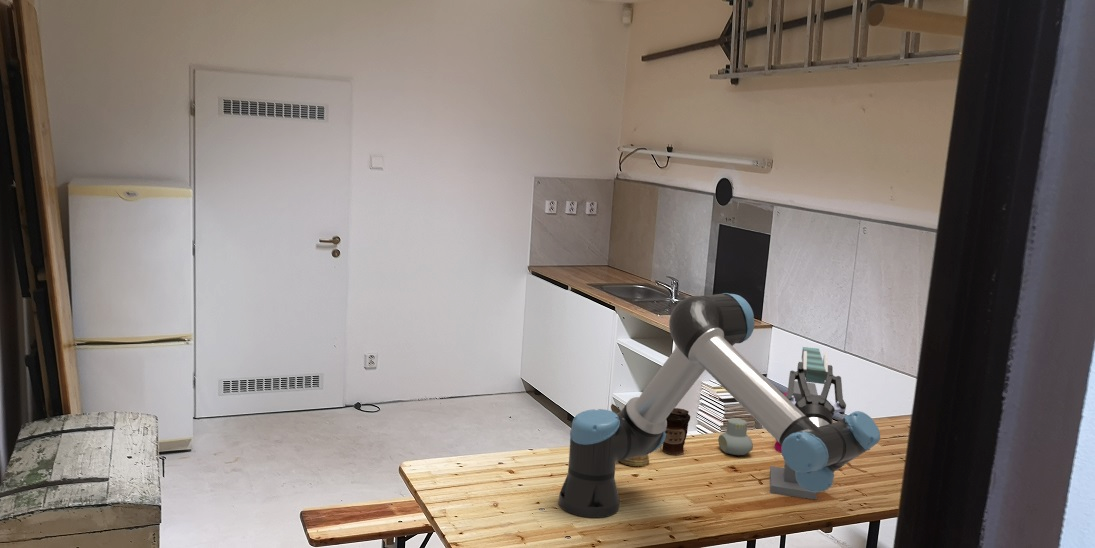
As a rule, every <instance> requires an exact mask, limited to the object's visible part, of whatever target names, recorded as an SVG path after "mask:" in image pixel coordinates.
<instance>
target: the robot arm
mask: <svg viewBox="0 0 1095 548" xmlns="http://www.w3.org/2000/svg"><path fill="white" fill-rule="evenodd" d="M754 318H755V315H754V311H753V308H752V307H751V305H750V304H749V302H748V301H747V300H746V299H745V298H744V297H742V296H741V295H738V294H734V293H728V292H724V293H723V292H722V293H716V294H707V295H693V296H689V297H686V298H684V299H682V300H681V301H679V302H678V303H677V304H676V305H675V306H674V308H673V309H672V311H671V314H670V317H669V321H668V323H669V325H668V326H669V327H668V328H669V333H670V336H671V339H672V340H673V342H674V344H675V346H676V347H675V348H674V350H673V351H672V352H671V354H670V355H669V357H668V358H667V359H666V361H665V362H664V364H662V365H661V367H660V369H659V370H658V371H657V373H655V375H654V377H653V378H652V379H651V380H650V382H649V383H648V384H647V386H646V387H645V389H644V390H643V391H642V393H641V394H640V396H636V397H634V396H633V397H632V398H630V399H629V400H628V401H627V403H626V404H625V405H624V407H623V408H622V409H620V410H621V411H620V412H619V413H617V414H616V413H614V412H612V410H609V409H602V408H601V409H599V408H597V409H589V410H585V411H581V412H579V413H577V414H576V415H575V416H574V418H573V420H572V423H571V429H570V432H569V437H570V439H569V452H568V453H569V454H568V455H569V456H568V467H567V468H568V470H567V474H566V477H565V480H564V482H563V485H562V487H561V489H560V491H559V494H558V495H559V496H558V504H559V507H560V508H561V509H562V510H564V511H565V512H567V513H569V514H572V515H575V516H579V517H584V518H605V517H610V516H612V515H615V514H616V513H617V512H618V511H619V510H620V496H619V491H618V488H617V483H616V478H615V474H616V464H617V462H620V460H624V459H628V458H632V457H636V456H643V455H647V454H648V455H649V454H652V453H653V452H656V451H657V450H659V449H660V448H661V447H662V446H663V442H664V440H665V437H666V434H665V431H666V427H667V420H666V418H667V417H668V416H669V414H670V413H671V412H672V411H673V409H674V408H677V406H678V404H679V403H680V402H681V401H682V399H683V398H684V397H685V395H687V393H688V392H689V391H690V390H691V388H692V387H693V385H694V384H695V383H696V382H697V380H698V379H699V378H700V377H701V376H702V374H703V373H704V372H705V371H706V372H707V373H708V374H710V376H711V377H713V379H714V380H715V381H716V382H717V383H718V384H719V385H720V386H721V387H722V388H723V389H725V391H726V392H728V394H730V395H731V397H732V398H734V399H735V400H736V402H738V404H739V405H741V407H742V408H744V409H745V411H747V412H748V413H749V414H750V415H751V416H752V417H753V418H754V419H755V420H756V421H757V422H758V424H760V425H761V426H762V427H763V428H764V429H765V430H766V431H767V432H768V433H769V435H771V436H772V437H773V438H774V439H776V440H777V441H778V442H779V443H780V444H781V445H782V447H781V452H780V453H781V455H782V457H783V460H784V464H785V463H786V464H787V465H788V466H789V467H790V468H791V469H792V470H794V471H795V474H796V480H797V482H798V484H799V485H800V486H801V487H803V488H805V489H806V490H809V491H813V492H817V493H819V492H820V493H821V492H825V491H827V490H829V489H830V488H831V487H832V485H833V484H834V478H835V474H834V473H835V472H836V471H838V470H839V469H841V468H842V467H844V466H845V465H846V464H848V463H850V462H851V461H853V460H855V458H858V457H859V456H861V455H863V454H864V453H865V452H867V451H870V450H871V448H873V447H874V446H876V445H877V444H878V443H879V442H880V440H881V432H880V429H879V427H878V425H877V423H876V422H875V420H874V419H873V418H872V417H871V416H869V415H868V414H867V413H865V412H864V411H859V410H856V411H853V412H851V413H850V414H848V415H845V413H846V409H847V404H846V402H845V401H844V395H843V385H842V383H843V382H842V377H841V376H840V375H837V376H835V375H834V374H833V373H834V371H833V366H832V365H831V364H830V365H829V361H828V358H829V353H827V352H824V353H823V358H822V360H823V364H824V367H825V370H826V375H825V384H823V388H822V390H821V393H820V395H819V394H818V395H813V394H810V391H809V390H808V386H807V383H808V382H806V378H805V376H806V370H807V351H804V353H803V359H802V358H801V361H798V363H797V369H796V370H797V371H795V370H790V371H789V375H788V376H789V377H788V385H787V387H788V388H787V392H786V393H787V394H786V396H784V395H783V394H784V393H783V392H782V391H781V390H779V389H778V387H776V386H775V385H774V384H773V383H772V382H771V381H770V380H768V378H766V377H765V375H764V374H762V373H761V372H760V371H759V370H758V369H757V368H756V367H755V366H754V365H753V364H752V363H751V362H750V361H749V360H747V359H746V358H745V356H743V354H741V353H740V352H739V351H738V350H737V349H736V348H735V347H734V345H735V344H742V343H744V342H746V341H747V340H749V338H750V337H751V336H752V334H753V332H754V330H755V319H754ZM795 381H798V384H799V388H800V392H801V396H802V398H801V399H800V400H798V401H797V402H796V401H795V398H794V396H793V393H794V382H795ZM831 385H834V386H833V387H834V400H835V403H834V405H833V404H832V403H831V402H830V401H829V400H828V395H829V392H830V389H831ZM835 413H839V414H840V415H845V416H844V418H842V419H840V420H839V421H836V422H833V416H834V415H835ZM776 440H775V441H776ZM777 441H776V442H777Z"/></svg>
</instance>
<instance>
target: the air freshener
mask: <svg viewBox="0 0 1095 548" xmlns="http://www.w3.org/2000/svg"><path fill="white" fill-rule="evenodd" d="M726 426H727V427H726V431H725V432H722V433H721V434H720V435H719V436H718V441H717V442H718V446H719V448H720V450H722V451H723V452H724V453H725V454H728V455H732V456H744V455H747V454H749V453H750V452H752V451H753V448H754V443H753V440H752V438H751V436H749V435H748V434H747V433H748V422H747V420H744V419H743V418H742V419H741V418H732V417H731V418H729V419H728V420H727V425H726Z"/></svg>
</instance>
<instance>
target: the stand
mask: <svg viewBox="0 0 1095 548" xmlns="http://www.w3.org/2000/svg"><path fill="white" fill-rule="evenodd" d="M807 386H808V390H809V391H810V394H813V395H819V393H818V389H817V385H816V383H812V382H807ZM793 396H794V398H795V401H796V402H797V401H798V400H800V399H801V398H802V396H801V392H800V388H799V384H798V381H797V380H795V382H794V393H793ZM783 465H784V466H783V467H780V466H772V465H770V469H769V490H770V491H769V493H770V494H775V495H776V494H777V495H781V496H788V497H795V498H800V499H806V498H807V499H809V500H813V499H815V500H814V501H817V499H818V492H813V491H809V490H806V489H805V488H803V487H801V486H800V485H799V484H798V482H797V480H796V474H795V471H794V470H792V469H791V468H790V467H789V466H788V465H787V464H786V463H785V462H784V464H783Z"/></svg>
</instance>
